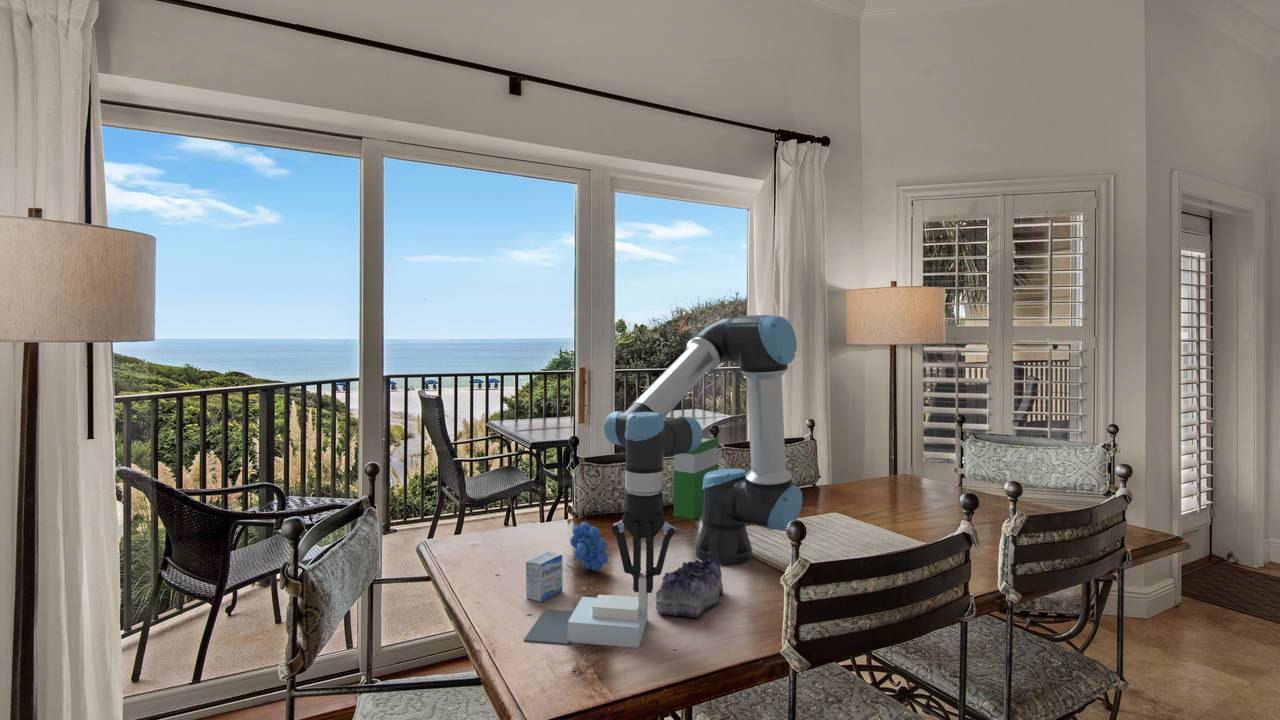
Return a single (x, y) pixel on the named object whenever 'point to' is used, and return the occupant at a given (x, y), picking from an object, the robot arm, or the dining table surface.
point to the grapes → (589, 546)
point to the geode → (690, 589)
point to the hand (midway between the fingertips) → (643, 607)
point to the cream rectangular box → (616, 607)
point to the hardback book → (693, 478)
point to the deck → (604, 627)
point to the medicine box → (544, 576)
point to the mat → (550, 627)
